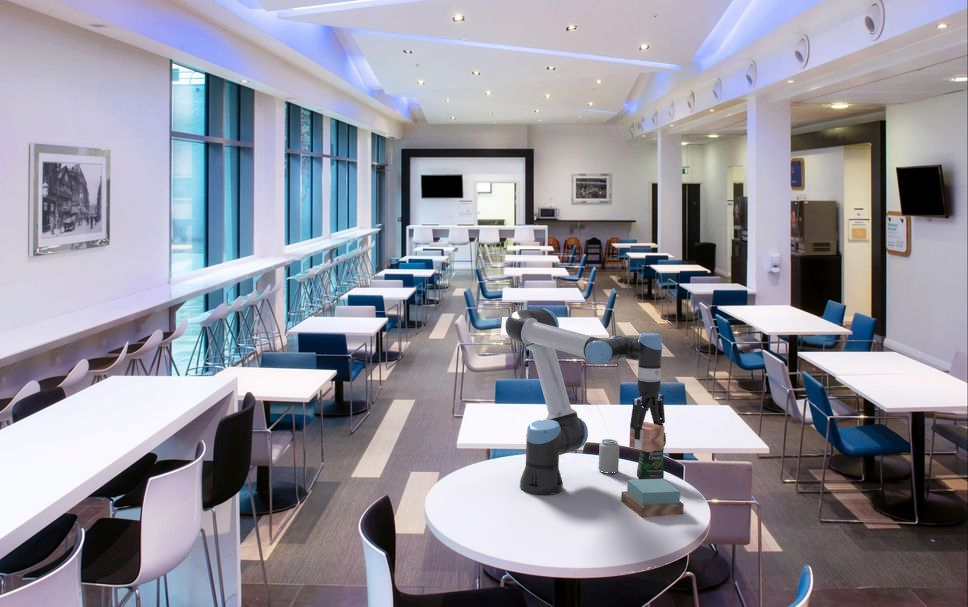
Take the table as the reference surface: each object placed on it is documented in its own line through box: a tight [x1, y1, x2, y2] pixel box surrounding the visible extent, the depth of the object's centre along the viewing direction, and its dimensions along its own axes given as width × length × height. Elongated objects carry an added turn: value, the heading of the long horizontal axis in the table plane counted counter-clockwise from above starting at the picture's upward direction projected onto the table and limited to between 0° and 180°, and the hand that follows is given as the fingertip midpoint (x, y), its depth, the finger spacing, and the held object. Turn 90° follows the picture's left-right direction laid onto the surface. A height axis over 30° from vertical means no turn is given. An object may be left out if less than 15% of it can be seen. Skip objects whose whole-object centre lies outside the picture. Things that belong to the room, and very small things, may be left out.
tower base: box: [620, 490, 685, 518], centre depth 261 cm, size 15×15×4 cm
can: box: [597, 438, 620, 474], centre depth 298 cm, size 8×8×12 cm
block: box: [628, 421, 665, 452], centre depth 262 cm, size 8×8×8 cm
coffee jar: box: [636, 431, 667, 480], centre depth 291 cm, size 10×8×19 cm
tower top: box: [626, 478, 681, 505], centre depth 261 cm, size 13×13×4 cm
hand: (646, 446), depth 263 cm, fingers closed on block, 8 cm apart
